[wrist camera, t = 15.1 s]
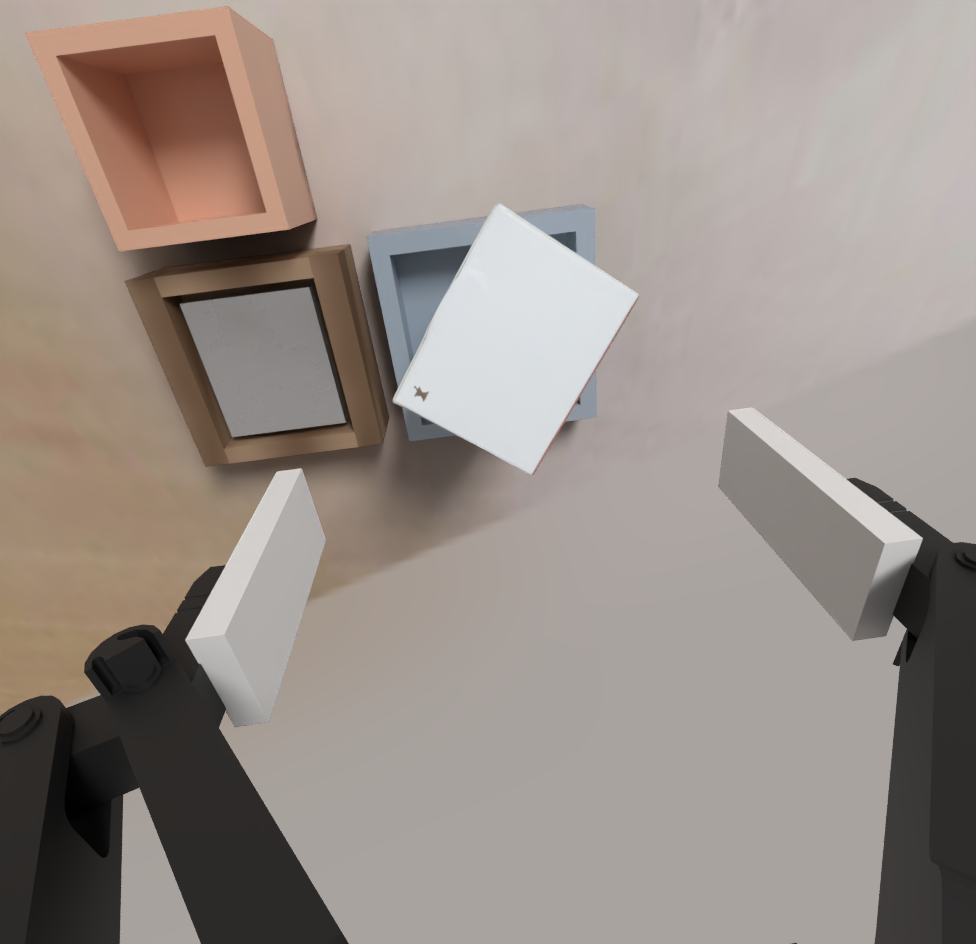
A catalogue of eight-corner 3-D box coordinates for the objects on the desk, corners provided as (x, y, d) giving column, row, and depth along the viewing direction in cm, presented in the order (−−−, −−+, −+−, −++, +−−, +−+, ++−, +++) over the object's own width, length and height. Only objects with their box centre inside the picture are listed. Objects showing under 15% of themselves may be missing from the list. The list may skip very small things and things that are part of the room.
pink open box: (176, 237, 30) (118, 251, 25) (110, 60, 26) (24, 32, 21) (317, 219, 30) (289, 229, 25) (272, 38, 26) (227, 6, 21)
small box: (506, 429, 33) (531, 482, 21) (416, 379, 32) (385, 403, 20) (573, 312, 32) (645, 292, 19) (481, 256, 31) (492, 196, 18)
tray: (412, 421, 36) (409, 441, 34) (374, 231, 30) (366, 237, 28) (585, 399, 36) (596, 417, 34) (581, 204, 30) (594, 208, 28)
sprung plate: (239, 428, 33) (232, 437, 32) (188, 299, 29) (179, 303, 28) (349, 414, 33) (345, 422, 32) (314, 283, 29) (309, 287, 28)
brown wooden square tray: (229, 438, 36) (205, 466, 33) (161, 268, 31) (124, 281, 27) (389, 417, 36) (382, 444, 33) (350, 244, 31) (337, 253, 27)
